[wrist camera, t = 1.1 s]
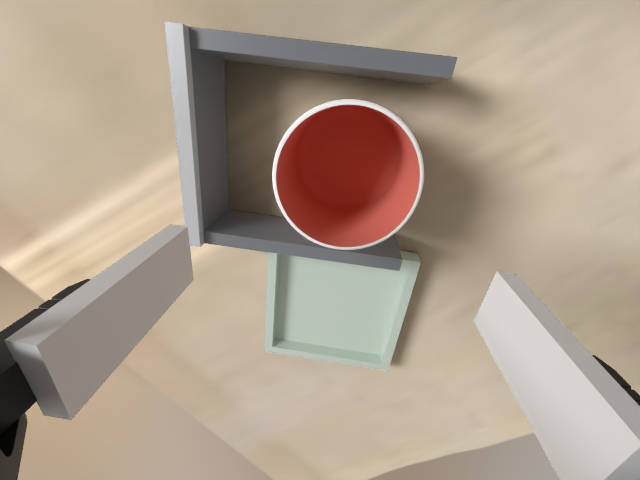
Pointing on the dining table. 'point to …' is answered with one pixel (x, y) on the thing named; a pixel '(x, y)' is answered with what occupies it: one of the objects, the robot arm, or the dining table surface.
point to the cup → (348, 174)
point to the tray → (336, 309)
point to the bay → (211, 136)
